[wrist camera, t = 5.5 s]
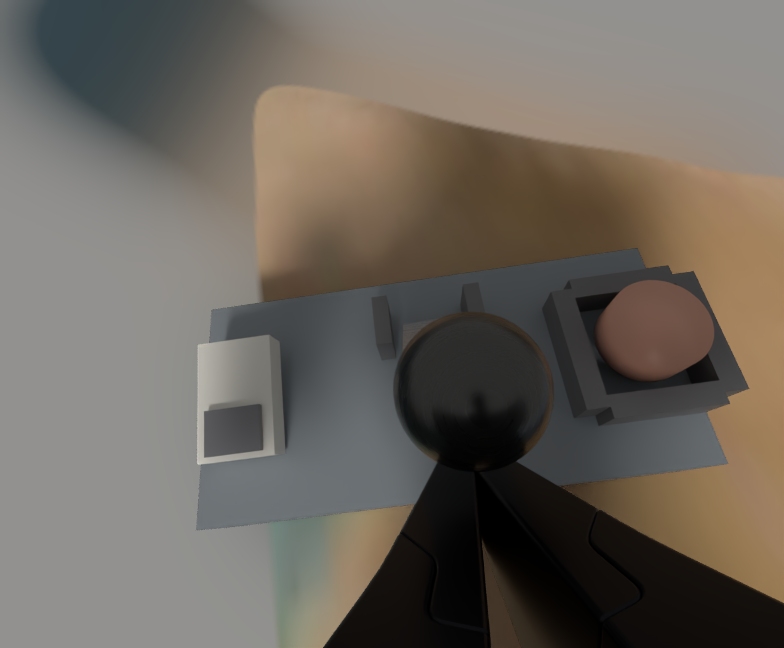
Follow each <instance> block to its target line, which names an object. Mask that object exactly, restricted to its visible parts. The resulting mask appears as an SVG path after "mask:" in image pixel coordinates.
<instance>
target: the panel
mask: <svg viewBox="0 0 784 648" xmlns="http://www.w3.org/2000/svg"><path fill="white" fill-rule="evenodd" d="M645 280H659V281H665V282H669V283H672V284H675V285H678V286H680V287H682V288H684V289H686V290H687V291H689V292H690V293H692V294H693V295H694V296H695V297H697V298H698V299H699V300H700V301H701V302H702V304H703V305H704V306H705V308H706V309H707V310H708V312H709V314H710V316H711V319H712V321H713V325H714V340H713V344H712V346H711V349H710V350H709V352H708V353H707V354H706V355H705V357H704V358H702V359H701V360H700V361H698V362H697V363H695V364H693V365H691V366H689V367H688V368H686V369H684V370H682V371H680V372H679V373H677V374H675V375H673V376H671V377H670V378H668V379H665V380H662V381H657V382H641V381H636V380H632V379H629V378H627V377H624V376H623V375H621V374H619V373H617V372H616V371H615V370H613V369H612V368H611V367H610V366H609V365H608V364H607V363H606V362H605V361H604V360H603V359H602V357H601V356H600V354H599V352H598V350H597V348H596V345H595V341H594V327H595V324H596V321H597V319H598V317H599V316H600V315H601V313H602V312H603V311H604V310H605V309H606V307H607V306H608V305H609V304H610V303H611V302H612V300H613V299H614V298H615V297H616V296H617V294H618V293H619V292H620V291H621V290H623V289H624V288H625V287H627V286H629V285H631V284H633V283H636V282H639V281H645ZM460 312H484V313H489V314H493V315H496V316H499V317H502V318H504V319H506V320H508V321H510V322H512V323H514V324H515V325H517V326H518V327H520V328H522V329H523V330H524V331H525V332H526V333H527V334H529V335H530V336H531V338H532V339H533V340H534V341H535V342H536V343H537V345H538V346H539V348H540V349H541V351H542V352H543V354H544V355H545V357H546V360H547V362H548V364H549V367H550V370H551V373H552V377H553V382H554V407H553V411H552V416H551V419H550V422H549V424H548V427H547V429H546V431H545V432H544V434H543V436H542V437H541V439H540V440H539V442H538V443H537V444H536V445H535V446H534V447H533V448H532V450H531V451H529V452H528V453H527V454H526V455H525V456H523V457H522V458H520V459H519V460H517V462H519V463H520V464H522V465H524V466H525V467H527V468H529V469H530V470H532V471H534V472H536V473H537V474H539V475H541V476H542V477H544V478H546V479H547V480H549V481H551V482H553V483H554V484H556V485H558V486H565V485H573V484H581V483H589V482H597V481H605V480H613V479H621V478H629V477H637V476H645V475H653V474H661V473H669V472H677V471H685V470H691V469H698V468H704V467H711V466H717V465H724V464H728V462H727V460H726V457H725V455H724V453H723V450H722V448H721V445H720V443H719V441H718V438H717V436H716V434H715V431H714V429H713V426H712V424H711V422H710V419H709V417H708V415H707V411H710V410H713V409H716V408H719V407H721V406H724V405H727V404H730V402H729V400H728V398H727V397H728V396H731V395H734V394H736V393H739V392H741V391H744V390H747V389H749V387H748V385H747V383H746V381H745V379H744V376H743V374H742V372H741V370H740V368H739V366H738V364H737V362H736V360H735V357H734V355H733V353H732V351H731V349H730V347H729V345H728V343H727V341H726V338H725V336H724V334H723V332H722V330H721V328H720V326H719V324H718V322H717V319H716V317H715V315H714V313H713V311H712V309H711V307H710V305H709V303H708V300H707V298H706V296H705V294H704V292H703V290H702V288H701V286H700V284H699V281H698V279H697V277H696V275H695V273H694V271H692V272H685V273H678V274H672V272H671V270H670V268H669V266H661V267H654V268H647V269H646V267H645V265H644V263H643V260H642V258H641V255H640V253H639V251H638V248H635V249H628V250H621V251H614V252H607V253H600V254H593V255H586V256H579V257H573V258H566V259H559V260H552V261H545V262H538V263H531V264H524V265H517V266H510V267H504V268H497V269H490V270H483V271H476V272H469V273H462V274H455V275H448V276H441V277H435V278H428V279H421V280H414V281H407V282H400V283H393V284H386V285H379V286H373V287H366V288H359V289H352V290H345V291H338V292H331V293H324V294H317V295H310V296H304V297H297V298H290V299H283V300H276V301H269V302H262V303H255V304H248V305H241V306H235V307H228V308H221V309H214V310H212V313H211V327H210V341H209V343H213V342H220V341H227V340H234V339H242V338H249V337H256V336H263V335H271V336H272V337H273V338H275V339H276V340H278V341H279V342H280V358H281V377H282V396H283V416H284V435H285V454H280V455H272V456H265V457H257V458H249V459H242V460H234V461H227V462H219V463H210V464H201V471H200V485H199V499H198V513H197V528H196V529H197V530H203V529H204V530H205V529H216V528H227V527H236V526H244V525H253V524H261V523H269V522H277V521H285V520H293V519H301V518H309V517H317V516H325V515H333V514H341V513H349V512H357V511H365V510H373V509H381V508H389V507H397V506H405V505H413V504H416V502H417V500H418V498H419V496H420V494H421V492H422V490H423V488H424V486H425V484H426V483H427V481H428V479H429V477H430V475H431V473H432V471H433V469H434V467H435V465H436V464H437V462H435V461H434V460H432V459H431V458H429V457H428V456H426V455H425V454H424V453H423V452H421V451H420V450H419V449H418V448H417V447H416V446H415V445H414V443H413V442H412V441H411V440H410V439H409V437H408V436H407V434H406V433H405V431H404V430H403V428H402V426H401V424H400V422H399V419H398V416H397V413H396V409H395V405H394V398H393V379H394V374H395V369H396V366H397V363H398V360H399V358H400V356H401V354H402V348H403V324H405V323H412V322H420V321H427V320H434V319H439V318H441V317H444V316H447V315H450V314H455V313H460Z"/></svg>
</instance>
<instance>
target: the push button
mask: <svg viewBox="0 0 784 648" xmlns="http://www.w3.org/2000/svg"><path fill="white" fill-rule="evenodd" d="M713 340H714V325H713V321H712V319H711V316H710V314H709V312H708V310H707V309H706V308H705V306H704V305H703V304H702V302H701V301H700V300H699V299H698V298H697V297H695V296H694V295H693V294H692V293H690V292H689V291H687V290H686V289H684V288H682V287H680V286H678V285H675V284H672V283H669V282H665V281H659V280H645V281H639V282H636V283H633V284H631V285H629V286H627V287H625V288H624V289H623V290H621V291H620V292H619V293H618V294H617V296H616V297H615V298H614V299H613V300H612V302H611V303H610V304H609V305H608V306H607V307H606V309H605V310H604V311H603V312H602V313H601V315H600V316H599V317H598V319H597V321H596V324H595V327H594V341H595V345H596V348H597V350H598V352H599V354H600V356H601V357H602V359H603V360H604V361H605V362H606V363H607V364H608V365H609V366H610V367H611V368H612V369H613V370H615V371H616V372H617V373H619V374H621V375H623V376H624V377H627V378H629V379H632V380H636V381H641V382H657V381H662V380H665V379H668V378H670V377H671V376H673V375H675V374H677V373H679V372H680V371H682V370H684V369H686V368H688V367H689V366H691V365H693V364H695V363H697V362H698V361H700V360H701V359H702V358H704V357H705V355H706V354H707V353H708V352H709V350H710V349H711V346H712V344H713Z"/></svg>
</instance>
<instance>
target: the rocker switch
mask: <svg viewBox="0 0 784 648" xmlns="http://www.w3.org/2000/svg"><path fill="white" fill-rule="evenodd" d="M197 404H198V405H197V408H198V411H197V414H198V415H197V426H198V427H197V465H199V464H210V463H219V462H227V461H234V460H242V459H249V458H257V457H265V456H272V455H280V454H285V435H284V416H283V396H282V377H281V358H280V342H279V341H278V340H276V339H275V338H273V337H272V336H271V335H263V336H256V337H249V338H242V339H234V340H227V341H220V342H213V343H207V344H200V345H198V400H197Z"/></svg>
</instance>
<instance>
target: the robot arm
mask: <svg viewBox="0 0 784 648" xmlns="http://www.w3.org/2000/svg"><path fill="white" fill-rule="evenodd" d="M482 543H483V546H484V549H485V552H486V555H487V557H488V560H489V562H490V565H491V568H492V570H493V573H494V576H495V578H496V581H497V584H498V586H499V589H500V592H501V594H502V597H503V600H504V602H505V605H506V608H507V610H508V613H509V616H510V618H511V621H512V624H513V626H514V629H515V632H516V634H517V637H518V640H519V642H520V645H521V648H784V603H782V602H780V601H778V600H776V599H774V598H772V597H770V596H768V595H766V594H764V593H762V592H760V591H758V590H755V589H753V588H751V587H749V586H747V585H745V584H743V583H741V582H739V581H737V580H735V579H733V578H731V577H729V576H727V575H724V574H722V573H720V572H718V571H716V570H714V569H712V568H710V567H708V566H706V565H704V564H702V563H700V562H698V561H696V560H694V559H691V558H689V557H687V556H685V555H683V554H681V553H679V552H677V551H675V550H673V549H671V548H669V547H667V546H665V545H663V544H661V543H659V542H657V541H655V540H653V539H652V538H650V537H648V536H646V535H644V534H642V533H640V532H638V531H637V530H635V529H633V528H631V527H629V526H628V525H626V524H624V523H622V522H620V521H619V520H617V519H615V518H613V517H612V516H610V515H608V514H607V513H605V512H603V511H601V510H599V511H598V510H597V508H595V507H593V506H592V505H590V504H588V503H587V502H585V501H583V500H581V499H580V498H578V497H576V496H575V495H573V494H571V493H570V492H568V491H566V490H564V489H563V488H561V487H559V486H558V485H556V484H554V483H553V482H551V481H549V480H547V479H546V478H544V477H542V476H541V475H539V474H537V473H536V472H534V471H532V470H530V469H529V468H527V467H525V466H524V465H522V464H520V463H519V462H517V461H516V462H514V463H512V464H510V465H508V466H506V467H503V468H500V469H497V470H492V471H487V472H465V471H460V470H455V469H452V468H449V467H446V466H444V465H442V464H440V463H437V464H436V465H435V467H434V469H433V471H432V473H431V475H430V477H429V479H428V481H427V483H426V484H425V486H424V488H423V490H422V492H421V494H420V496H419V498H418V500H417V502H416V504H415V505H414V507H413V509H412V511H411V513H410V515H409V517H408V519H407V521H406V523H405V524H404V526H403V528H402V530H401V532H400V534H399V535H398V537H397V538H396V540H395V542H394V544H393V546H392V548H391V550H390V552H389V553H388V555H387V557H386V558H385V560H384V562H383V564H382V565H381V567H380V569H379V570H378V572H377V573H376V574H375V576H374V577H373V579H372V580H371V582H370V583H369V585H368V586H367V588H366V589H365V591H364V592H363V593H362V595H361V596H360V598H359V599H358V600H357V602H356V603H355V604H354V606H353V607H352V609H351V610H350V611H349V613H348V614H347V615H346V617H345V618H344V620H343V621H342V622H341V624H340V625H339V626H338V628H337V629H336V631H335V632H334V633H333V635H332V636H331V637H330V639H329V640H328V642H327V643H326V644H325V646H324V647H323V648H491V639H490V628H489V617H488V606H487V594H486V583H485V572H484V561H483V550H482Z"/></svg>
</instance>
